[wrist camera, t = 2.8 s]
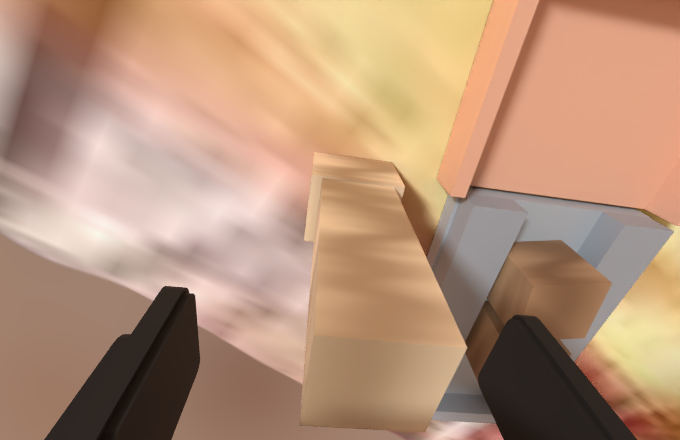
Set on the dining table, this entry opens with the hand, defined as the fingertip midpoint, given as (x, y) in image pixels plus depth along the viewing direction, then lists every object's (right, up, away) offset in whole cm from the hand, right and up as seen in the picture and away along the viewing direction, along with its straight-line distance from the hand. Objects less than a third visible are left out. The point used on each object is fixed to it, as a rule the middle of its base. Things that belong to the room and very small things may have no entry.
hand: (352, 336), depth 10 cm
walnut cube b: (+11, +1, +11) cm, 16 cm away
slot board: (+11, -3, +14) cm, 18 cm away
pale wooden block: (0, +6, +9) cm, 11 cm away
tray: (+13, +10, +7) cm, 18 cm away
